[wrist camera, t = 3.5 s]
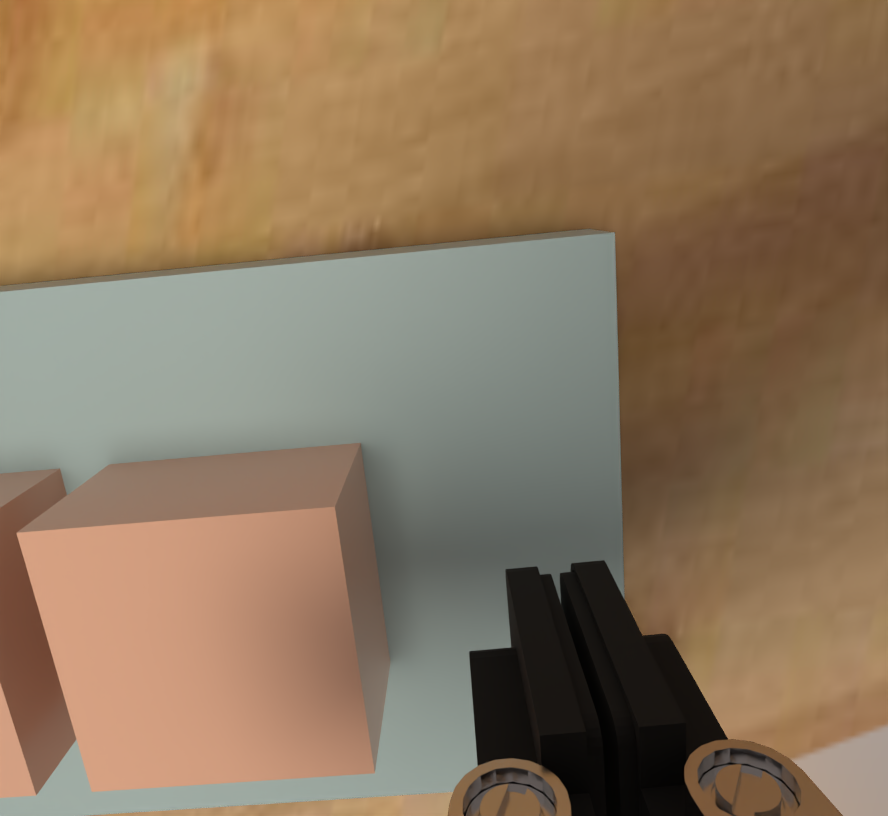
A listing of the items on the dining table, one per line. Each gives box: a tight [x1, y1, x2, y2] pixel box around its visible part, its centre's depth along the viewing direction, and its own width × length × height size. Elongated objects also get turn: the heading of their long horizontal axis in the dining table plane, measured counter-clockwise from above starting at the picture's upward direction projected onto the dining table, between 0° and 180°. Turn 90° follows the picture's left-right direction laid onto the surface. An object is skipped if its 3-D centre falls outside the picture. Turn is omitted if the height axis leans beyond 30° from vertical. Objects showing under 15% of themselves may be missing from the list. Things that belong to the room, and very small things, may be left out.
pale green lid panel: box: [0, 229, 625, 816], centre depth 15 cm, size 20×12×2 cm, turn 95°
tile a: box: [17, 443, 391, 792], centre depth 13 cm, size 5×5×3 cm
